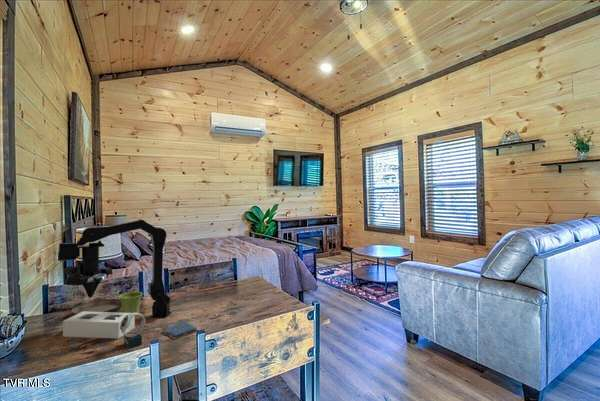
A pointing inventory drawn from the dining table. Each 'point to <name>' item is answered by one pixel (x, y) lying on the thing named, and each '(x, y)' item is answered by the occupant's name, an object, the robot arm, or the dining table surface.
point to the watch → (135, 337)
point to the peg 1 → (88, 316)
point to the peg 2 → (112, 317)
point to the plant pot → (131, 302)
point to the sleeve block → (96, 325)
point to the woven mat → (180, 330)
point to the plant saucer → (99, 306)
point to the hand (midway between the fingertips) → (90, 297)
